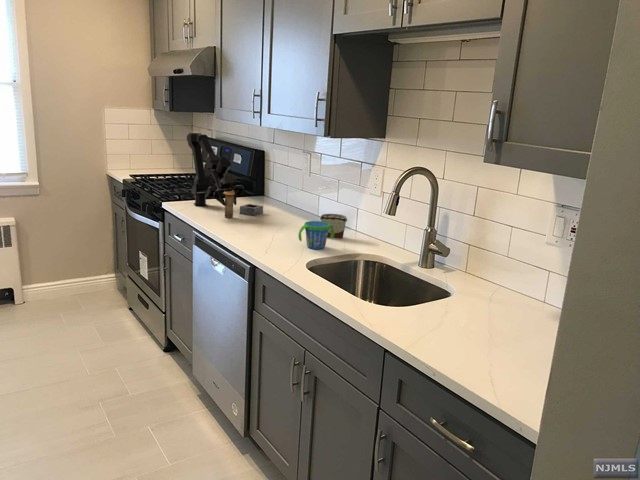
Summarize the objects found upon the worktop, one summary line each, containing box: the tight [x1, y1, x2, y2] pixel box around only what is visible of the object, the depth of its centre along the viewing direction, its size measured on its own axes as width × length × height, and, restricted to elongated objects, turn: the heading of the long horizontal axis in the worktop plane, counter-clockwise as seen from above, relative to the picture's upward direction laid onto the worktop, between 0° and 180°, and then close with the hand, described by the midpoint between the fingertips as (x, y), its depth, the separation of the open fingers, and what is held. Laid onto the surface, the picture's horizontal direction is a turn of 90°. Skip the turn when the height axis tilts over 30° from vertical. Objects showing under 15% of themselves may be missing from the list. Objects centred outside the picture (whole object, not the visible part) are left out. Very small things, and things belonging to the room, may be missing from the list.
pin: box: [223, 191, 235, 219], centre depth 251 cm, size 5×5×13 cm
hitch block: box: [239, 203, 264, 217], centre depth 264 cm, size 9×9×4 cm
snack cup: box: [298, 220, 335, 250], centre depth 209 cm, size 16×10×10 cm
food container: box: [319, 213, 348, 240], centre depth 228 cm, size 12×6×10 cm, turn 84°
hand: (230, 205), depth 250 cm, fingers open, 6 cm apart
